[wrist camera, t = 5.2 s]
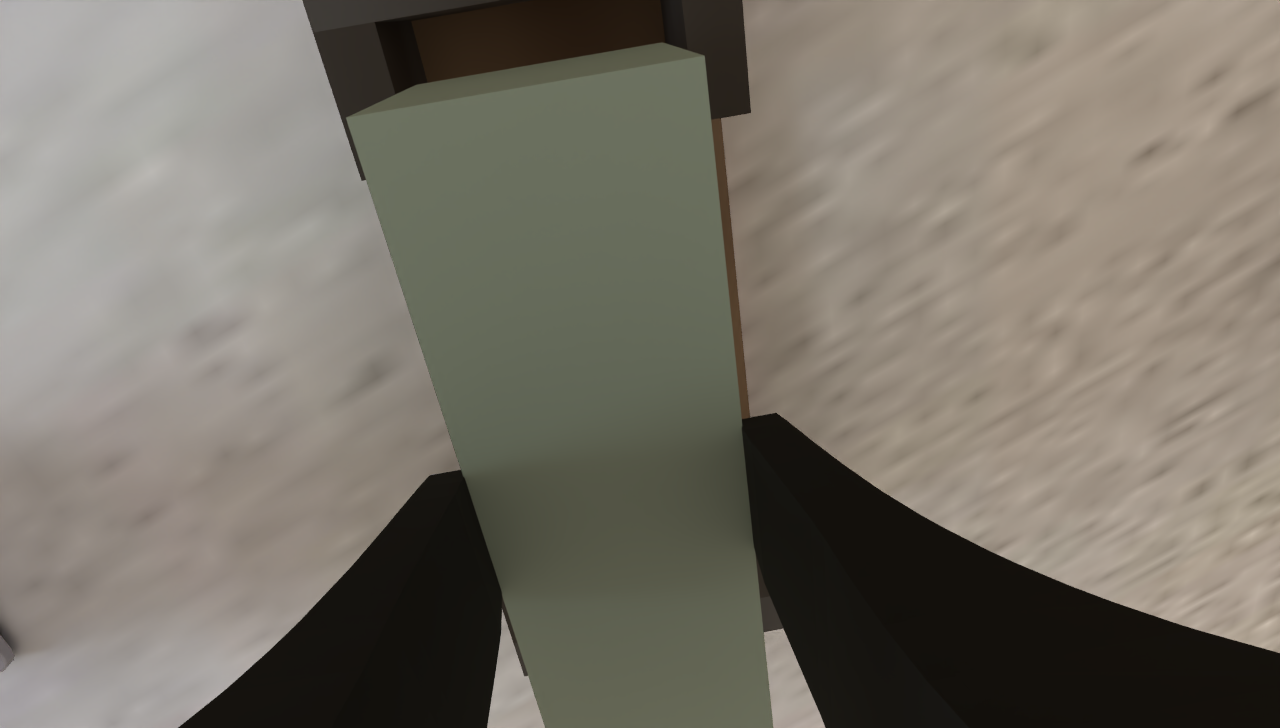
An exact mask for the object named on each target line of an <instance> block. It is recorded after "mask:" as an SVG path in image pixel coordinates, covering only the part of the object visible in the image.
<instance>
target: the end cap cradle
mask: <svg viewBox="0 0 1280 728" xmlns="http://www.w3.org/2000/svg"><path fill="white" fill-rule="evenodd" d="M303 3H304V7H305V10H306V13H307V16H308V19H309V22H310V25H311V28H312V31H313V34H314V37H315V40H316V43H317V46H318V49H319V52H320V55H321V58H322V61H323V64H324V67H325V70H326V74H327V77H328V80H329V83H330V86H331V89H332V92H333V95H334V98H335V101H336V104H337V107H338V110H339V113H340V116H341V119H342V122H343V125H344V128H345V131H346V134H347V137H348V140H349V144H350V147H351V150H352V153H353V156H354V159H355V162H356V165H357V168H358V171H359V174H360V177H361V180H362V181H363V180H366V178H365V175H364V172H363V169H362V166H361V163H360V159H359V156H358V153H357V150H356V147H355V144H354V141H353V138H352V135H351V132H350V129H349V126H348V123H347V120H346V117H349V116H351V115H353V114H355V113H357V112H359V111H361V110H364V109H366V108H368V107H370V106H372V105H374V104H376V103H378V102H381V101H383V100H385V99H387V98H389V97H391V96H393V95H396V94H398V93H400V92H402V91H404V90H406V89H408V88H410V87H413V86H415V85H418V84H424V83H430V82H435V81H441V80H447V79H453V78H458V77H464V76H470V75H476V74H482V73H487V72H493V71H499V70H505V69H511V68H516V67H522V66H528V65H534V64H540V63H545V62H551V61H557V60H563V59H568V58H574V57H580V56H586V55H592V54H597V53H603V52H609V51H615V50H621V49H626V48H632V47H638V46H644V45H650V44H655V43H661V42H663V43H666V44H669V45H672V46H675V47H679V48H682V49H685V50H688V51H691V52H694V53H698V54H701V55H704V56H705V64H706V74H707V84H708V94H709V104H710V113H711V123H712V133H713V143H714V153H715V162H716V172H717V182H718V192H719V201H720V211H721V221H722V231H723V241H724V250H725V260H726V270H727V280H728V290H729V299H730V309H731V319H732V329H733V338H734V348H735V358H736V368H737V378H738V387H739V397H740V407H741V417H742V419H745V418H750V414H749V403H748V393H747V383H746V372H745V362H744V352H743V341H742V331H741V321H740V310H739V300H738V290H737V279H736V269H735V259H734V249H733V238H732V228H731V218H730V207H729V197H728V187H727V176H726V166H725V156H724V145H723V135H722V125H721V118H724V117H730V116H736V115H741V114H747V113H751V108H750V95H749V82H748V69H747V57H746V44H745V31H744V18H743V6H742V0H303ZM755 554H756V553H755ZM756 564H757V573H758V583H759V593H760V603H761V613H762V622H763V632H767V631H772V630H777V629H783V626H782V624H781V621H780V619H779V616H778V614H777V612H776V609H775V607H774V605H773V602H772V600H771V598H770V595H769V593H768V590H767V588H766V586H765V583H764V580H763V576H762V573H761V570H760V566H759V563H758V560H757V556H756ZM502 609H503V612H504V615H505V618H506V621H507V624H508V628H509V631H510V634H511V637H512V640H513V643H514V646H515V649H516V652H517V655H518V658H519V661H520V664H521V667H522V670H523V673H524V676H528V673H527V670H526V667H525V664H524V661H523V658H522V655H521V652H520V649H519V646H518V643H517V640H516V637H515V633H514V630H513V627H512V624H511V621H510V618H509V615H508V612H507V609H506V606H505V603H504V600H503V597H502Z"/></svg>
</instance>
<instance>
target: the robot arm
mask: <svg viewBox="0 0 1280 728" xmlns="http://www.w3.org/2000/svg"><path fill="white" fill-rule="evenodd" d="M742 437H743V446H744V456H745V466H746V475H747V485H748V495H749V505H750V514H751V524H752V534H753V543H754V549H755V553H756V556H757V560H758V563H759V566H760V570H761V573H762V576H763V580H764V583H765V586H766V588H767V590H768V593H769V595H770V598H771V600H772V602H773V605H774V607H775V609H776V612H777V614H778V616H779V619H780V621H781V624H782V626H783V628H784V631H785V633H786V635H787V638H788V640H789V642H790V645H791V647H792V649H793V652H794V654H795V656H796V659H797V661H798V663H799V666H800V668H801V670H802V673H803V675H804V677H805V680H806V682H807V684H808V687H809V689H810V691H811V694H812V696H813V698H814V701H815V703H816V705H817V708H818V710H819V712H820V715H821V717H822V720H823V722H824V725H825V727H826V728H1280V653H1277V652H1273V651H1270V650H1266V649H1263V648H1259V647H1256V646H1252V645H1248V644H1245V643H1241V642H1238V641H1234V640H1231V639H1227V638H1224V637H1220V636H1216V635H1213V634H1209V633H1206V632H1202V631H1199V630H1195V629H1192V628H1189V627H1185V626H1182V625H1179V624H1176V623H1173V622H1170V621H1167V620H1164V619H1161V618H1158V617H1155V616H1152V615H1149V614H1146V613H1144V612H1141V611H1138V610H1135V609H1132V608H1129V607H1126V606H1123V605H1120V604H1117V603H1114V602H1111V601H1109V600H1106V599H1103V598H1101V597H1098V596H1095V595H1093V594H1090V593H1087V592H1085V591H1082V590H1079V589H1077V588H1074V587H1071V586H1069V585H1066V584H1064V583H1062V582H1059V581H1057V580H1055V579H1052V578H1050V577H1047V576H1045V575H1043V574H1040V573H1038V572H1035V571H1033V570H1031V569H1028V568H1026V567H1024V566H1021V565H1019V564H1016V563H1014V562H1012V561H1010V560H1008V559H1006V558H1003V557H1001V556H999V555H997V554H995V553H992V552H990V551H988V550H986V549H984V548H982V547H980V546H978V545H976V544H974V543H972V542H970V541H968V540H966V539H965V538H963V537H961V536H959V535H957V534H955V533H953V532H951V531H949V530H947V529H945V528H943V527H941V526H939V525H938V524H936V523H934V522H932V521H930V520H929V519H927V518H925V517H923V516H921V515H920V514H918V513H916V512H915V511H913V510H911V509H910V508H908V507H907V506H905V505H903V504H902V503H900V502H898V501H897V500H895V499H894V498H892V497H890V496H889V495H887V494H885V493H884V492H882V491H881V490H879V489H878V488H876V487H875V486H873V485H872V484H870V483H869V482H868V481H866V480H865V479H863V478H862V477H860V476H859V475H858V474H856V473H855V472H853V471H852V470H850V469H849V468H848V467H846V466H845V465H843V464H842V463H841V462H839V461H838V460H837V459H835V458H834V457H833V456H831V455H830V454H829V453H827V452H826V451H825V450H823V449H822V448H821V447H820V446H818V445H817V444H816V443H814V442H813V441H812V440H811V439H809V438H808V437H807V436H805V435H804V434H803V433H802V432H800V431H799V430H798V429H797V428H795V427H794V426H793V425H792V424H790V423H789V422H788V421H786V420H785V419H784V418H782V417H781V416H780V415H778V414H777V413H773V414H768V415H762V416H757V417H751V418H745V419H742ZM501 618H502V591H501V588H500V585H499V582H498V578H497V575H496V572H495V569H494V566H493V563H492V560H491V557H490V554H489V551H488V548H487V545H486V542H485V539H484V536H483V532H482V529H481V526H480V523H479V520H478V517H477V514H476V511H475V508H474V505H473V502H472V499H471V496H470V493H469V490H468V486H467V483H466V480H465V477H463V474H462V471H461V470H457V471H452V472H446V473H441V474H435V475H430V476H429V477H428V478H427V479H426V480H425V481H424V482H423V483H422V484H421V486H420V487H419V488H418V489H417V490H416V491H415V493H414V494H413V495H412V496H411V497H410V498H409V500H408V501H407V502H406V503H405V504H404V506H403V507H402V508H401V509H400V510H399V512H398V513H397V514H396V515H395V516H394V518H393V519H392V520H391V521H390V522H389V524H388V525H387V526H386V527H385V528H384V529H383V531H382V532H381V533H380V534H379V535H378V536H377V538H376V539H375V540H374V541H373V542H372V543H371V545H370V546H369V547H368V548H367V549H366V550H365V552H364V553H363V554H362V555H361V556H360V557H359V559H358V560H357V561H356V562H355V563H354V564H353V565H352V567H351V568H350V569H349V570H348V571H347V572H346V573H345V574H344V575H343V576H342V577H341V578H340V579H339V580H338V581H337V583H336V584H335V585H334V586H333V587H332V588H331V589H330V590H329V591H328V592H327V593H326V594H325V595H324V596H323V597H322V598H321V599H320V601H319V602H318V603H317V604H316V605H315V606H314V607H313V608H312V609H311V610H310V611H309V612H308V613H307V614H306V615H305V616H304V617H303V619H302V620H301V621H300V622H299V623H298V624H297V625H296V626H295V627H294V628H292V629H291V630H290V631H289V632H288V633H287V634H286V635H285V636H284V637H283V638H282V639H281V640H280V641H279V642H278V643H277V644H276V645H275V646H274V647H273V648H272V649H271V650H270V651H268V652H267V653H266V654H265V655H264V656H263V657H262V658H261V659H260V660H258V661H257V662H256V663H255V664H254V665H253V666H252V667H251V668H249V669H248V670H247V671H246V672H245V673H244V674H243V675H242V676H241V677H239V678H238V679H237V680H236V681H235V682H234V683H233V684H232V685H230V686H229V687H228V688H227V689H226V690H225V691H223V692H222V693H221V694H220V695H219V696H217V697H216V698H215V699H214V700H212V701H211V702H210V703H209V704H207V705H206V706H205V707H204V708H202V709H201V710H200V711H199V712H197V713H196V714H195V715H194V716H192V717H191V718H190V719H189V720H187V721H186V722H185V723H184V724H182V725H181V726H180V727H179V728H487V723H488V717H489V710H490V704H491V697H492V691H493V684H494V678H495V671H496V664H497V657H498V651H499V643H500V636H501ZM13 660H14V653H13V651H12V649H11V648H10V646H9V645H8V644H7V643H6V641H5V640H4V639H3V638H2V636H1V635H0V672H3V671H4V670H5V669H6V668H7V667H8V666H9V664H10V663H11V662H12V661H13Z"/></svg>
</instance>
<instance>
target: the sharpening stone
mask: <svg viewBox="0 0 1280 728" xmlns="http://www.w3.org/2000/svg"><path fill="white" fill-rule="evenodd" d="M346 120H347V123H348V126H349V129H350V132H351V135H352V138H353V141H354V144H355V147H356V150H357V153H358V156H359V159H360V163H361V166H362V169H363V172H364V175H365V178H366V181H367V184H368V187H369V190H370V193H371V196H372V199H373V202H374V205H375V208H376V211H377V214H378V218H379V221H380V224H381V227H382V230H383V233H384V236H385V239H386V242H387V245H388V248H389V251H390V254H391V257H392V260H393V263H394V266H395V270H396V273H397V276H398V279H399V282H400V285H401V288H402V291H403V294H404V297H405V300H406V303H407V306H408V309H409V312H410V315H411V318H412V322H413V325H414V328H415V331H416V334H417V337H418V340H419V343H420V346H421V349H422V352H423V355H424V358H425V361H426V364H427V367H428V370H429V374H430V377H431V380H432V383H433V386H434V389H435V392H436V395H437V398H438V401H439V404H440V407H441V410H442V413H443V416H444V419H445V422H446V425H447V429H448V432H449V435H450V438H451V441H452V444H453V447H454V450H455V453H456V456H457V459H458V462H459V465H460V468H461V471H462V474H463V477H465V480H466V483H467V486H468V490H469V493H470V496H471V499H472V502H473V505H474V508H475V511H476V514H477V517H478V520H479V523H480V526H481V529H482V532H483V536H484V539H485V542H486V545H487V548H488V551H489V554H490V557H491V560H492V563H493V566H494V569H495V572H496V575H497V578H498V582H499V585H500V588H501V591H502V597H503V600H504V603H505V606H506V609H507V612H508V615H509V618H510V621H511V624H512V627H513V630H514V633H515V637H516V640H517V643H518V646H519V649H520V652H521V655H522V658H523V661H524V664H525V667H526V670H527V673H528V676H529V679H530V682H531V685H532V688H533V692H534V695H535V698H536V701H537V704H538V707H539V710H540V713H541V716H542V719H543V722H544V725H545V728H773V720H772V710H771V701H770V691H769V681H768V671H767V661H766V652H765V642H764V632H763V622H762V613H761V603H760V593H759V583H758V573H757V564H756V554H755V549H754V543H753V534H752V524H751V514H750V505H749V495H748V485H747V475H746V466H745V456H744V446H743V437H742V417H741V407H740V397H739V387H738V378H737V368H736V358H735V348H734V338H733V329H732V319H731V309H730V299H729V290H728V280H727V270H726V260H725V250H724V241H723V231H722V221H721V211H720V201H719V192H718V182H717V172H716V162H715V153H714V143H713V133H712V123H711V113H710V104H709V94H708V84H707V74H706V64H705V56H704V55H701V54H698V53H694V52H691V51H688V50H685V49H682V48H679V47H675V46H672V45H669V44H666V43H663V42H661V43H655V44H650V45H644V46H638V47H632V48H626V49H621V50H615V51H609V52H603V53H597V54H592V55H586V56H580V57H574V58H568V59H563V60H557V61H551V62H545V63H540V64H534V65H528V66H522V67H516V68H511V69H505V70H499V71H493V72H487V73H482V74H476V75H470V76H464V77H458V78H453V79H447V80H441V81H435V82H430V83H424V84H418V85H415V86H413V87H410V88H408V89H406V90H404V91H402V92H400V93H398V94H396V95H393V96H391V97H389V98H387V99H385V100H383V101H381V102H378V103H376V104H374V105H372V106H370V107H368V108H366V109H364V110H361V111H359V112H357V113H355V114H353V115H351V116H349V117H346Z"/></svg>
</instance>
